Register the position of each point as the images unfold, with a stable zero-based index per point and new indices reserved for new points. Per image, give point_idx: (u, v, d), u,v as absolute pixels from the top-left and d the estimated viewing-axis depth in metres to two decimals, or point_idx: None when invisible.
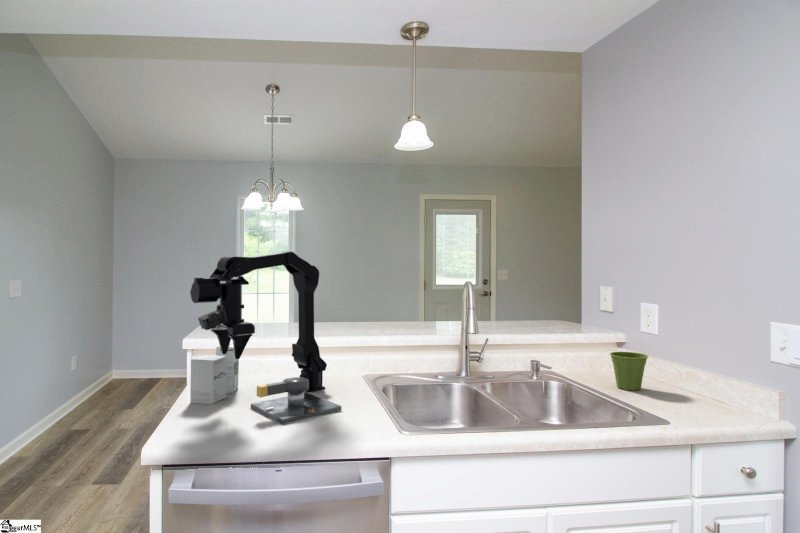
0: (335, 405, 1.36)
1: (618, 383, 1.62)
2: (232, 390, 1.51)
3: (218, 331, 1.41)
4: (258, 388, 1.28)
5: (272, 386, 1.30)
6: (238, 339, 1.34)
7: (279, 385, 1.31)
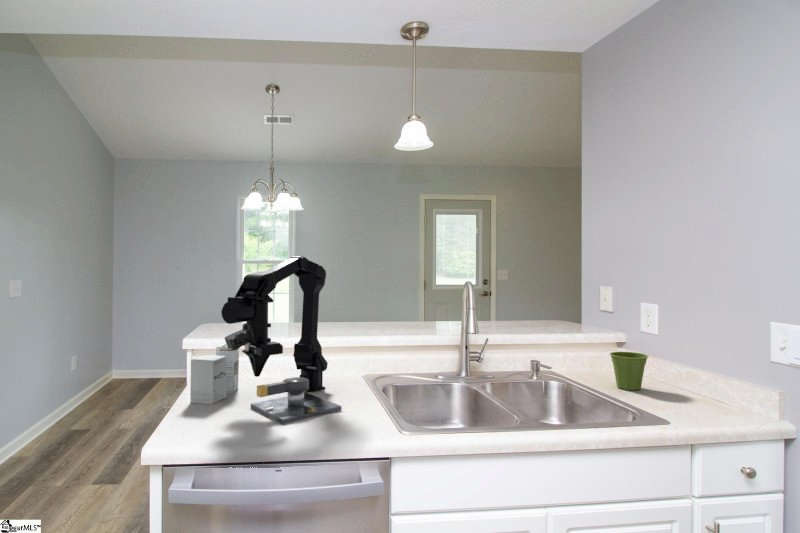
0: (335, 405, 1.36)
1: (618, 383, 1.62)
2: (232, 390, 1.51)
3: (250, 352, 1.34)
4: (258, 388, 1.28)
5: (272, 386, 1.30)
6: (258, 357, 1.34)
7: (279, 385, 1.31)
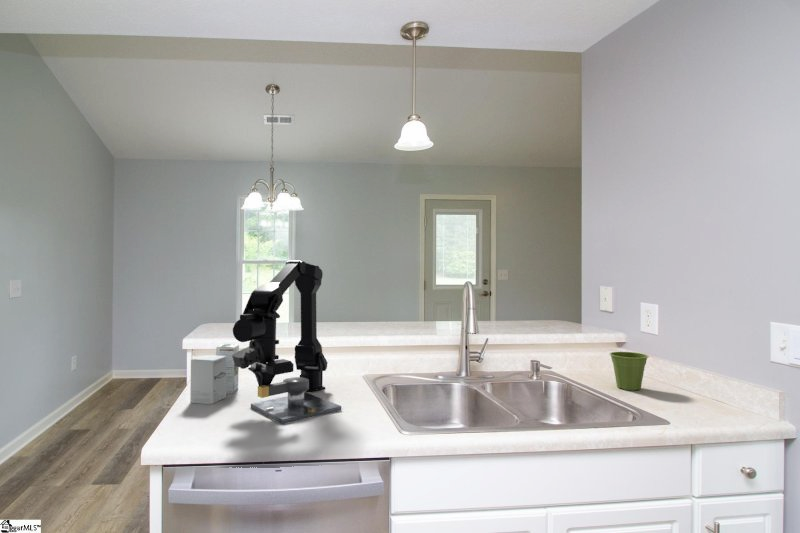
0: (335, 405, 1.36)
1: (618, 383, 1.62)
2: (232, 390, 1.51)
3: (257, 370, 1.31)
4: (259, 389, 1.28)
5: (273, 386, 1.30)
6: (265, 374, 1.31)
7: (280, 385, 1.31)
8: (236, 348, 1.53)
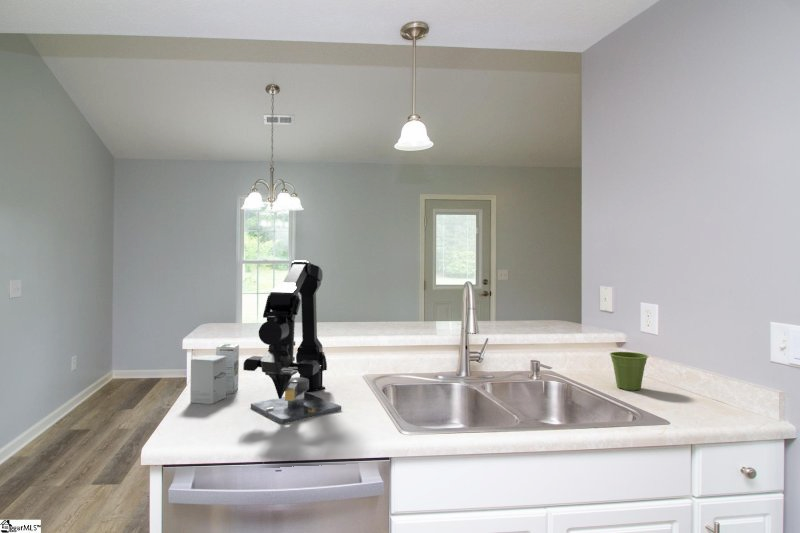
0: (335, 405, 1.36)
1: (618, 383, 1.62)
2: (232, 390, 1.51)
3: (277, 374, 1.26)
4: (289, 392, 1.25)
5: (295, 388, 1.28)
6: None
7: (296, 386, 1.30)
8: (236, 348, 1.53)
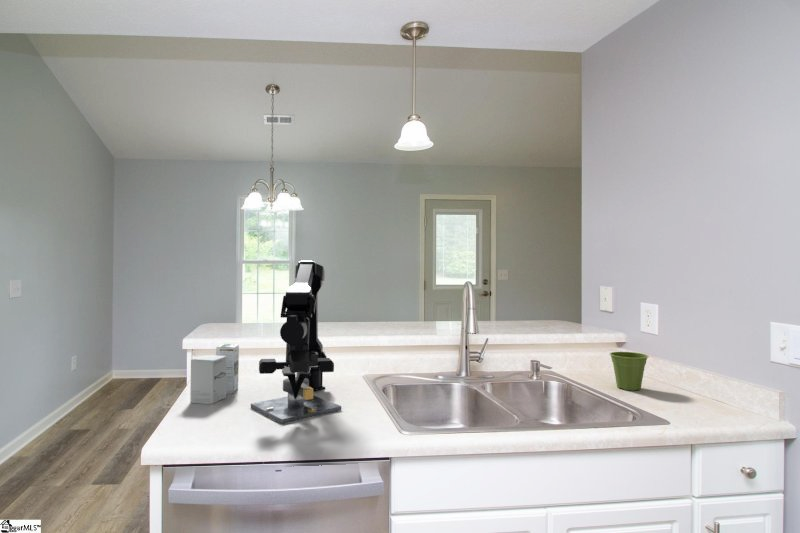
0: (335, 405, 1.36)
1: (618, 383, 1.62)
2: (232, 390, 1.51)
3: None
4: (309, 391, 1.26)
5: None
6: None
7: None
8: (236, 348, 1.53)
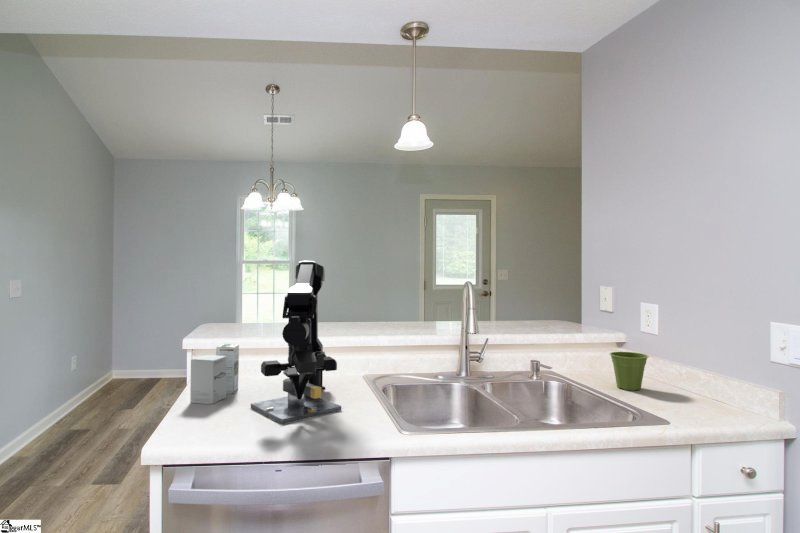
0: (335, 405, 1.36)
1: (618, 383, 1.62)
2: (232, 390, 1.51)
3: None
4: (318, 389, 1.28)
5: None
6: None
7: None
8: (236, 348, 1.53)
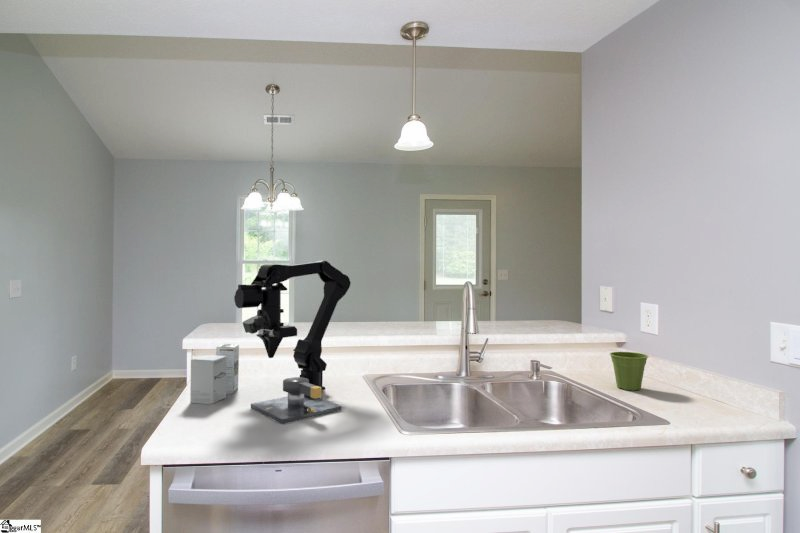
0: (335, 405, 1.36)
1: (618, 383, 1.62)
2: (232, 390, 1.51)
3: (265, 336, 1.47)
4: (318, 389, 1.28)
5: None
6: (272, 340, 1.46)
7: None
8: (236, 348, 1.53)
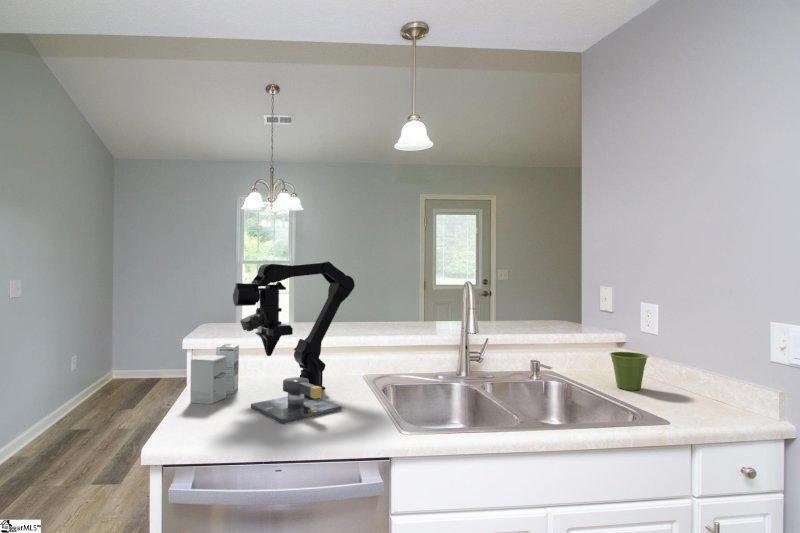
0: (335, 405, 1.36)
1: (618, 383, 1.62)
2: (232, 390, 1.51)
3: None
4: (318, 389, 1.28)
5: None
6: (270, 338, 1.49)
7: None
8: (236, 348, 1.53)
